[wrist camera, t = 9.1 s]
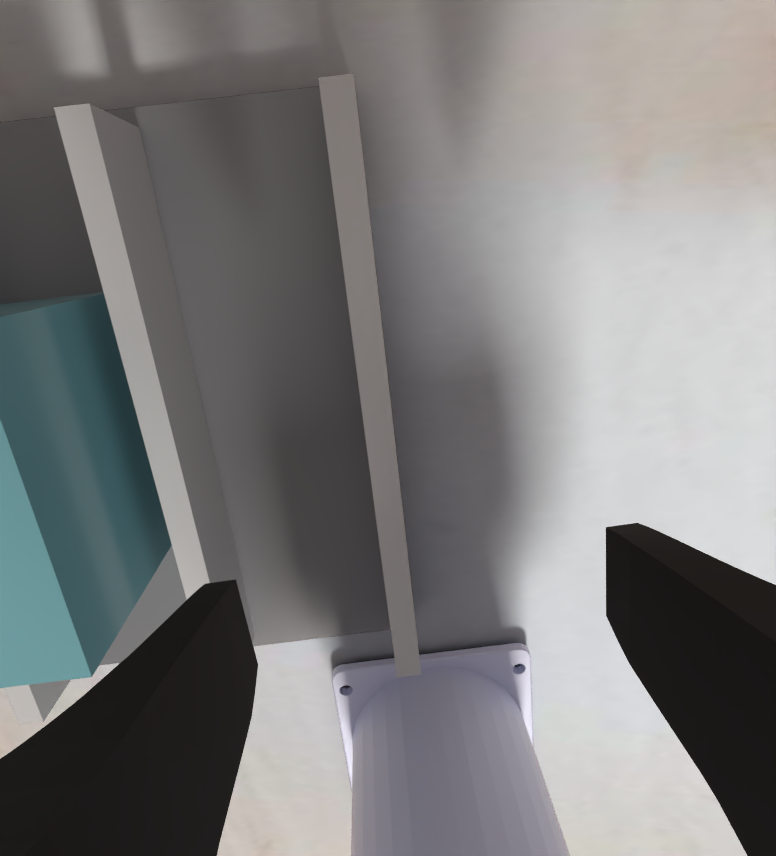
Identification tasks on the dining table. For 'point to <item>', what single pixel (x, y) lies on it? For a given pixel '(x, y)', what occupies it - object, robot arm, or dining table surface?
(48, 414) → the tall teal block
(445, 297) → the dining table surface
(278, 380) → the dish rack
